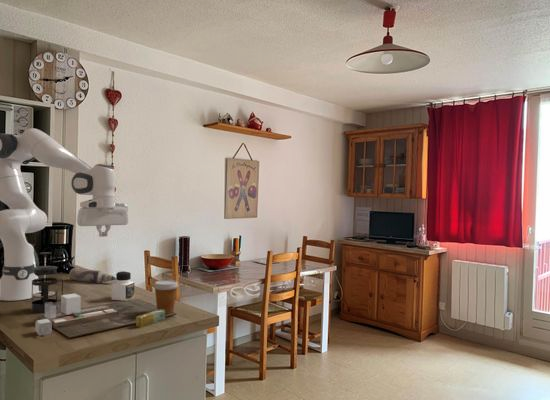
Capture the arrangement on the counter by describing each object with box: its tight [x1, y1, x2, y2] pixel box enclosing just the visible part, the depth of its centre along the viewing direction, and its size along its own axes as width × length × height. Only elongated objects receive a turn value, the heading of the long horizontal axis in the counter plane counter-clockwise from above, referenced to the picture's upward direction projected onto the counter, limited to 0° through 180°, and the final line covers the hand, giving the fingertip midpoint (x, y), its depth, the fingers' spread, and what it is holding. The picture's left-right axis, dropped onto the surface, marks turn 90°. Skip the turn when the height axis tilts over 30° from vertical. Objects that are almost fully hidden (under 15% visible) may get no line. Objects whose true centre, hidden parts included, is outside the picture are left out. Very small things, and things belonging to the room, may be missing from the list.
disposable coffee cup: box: [153, 279, 179, 315], centre depth 167 cm, size 10×10×12 cm
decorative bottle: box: [68, 267, 116, 284], centre depth 216 cm, size 26×8×7 cm, turn 75°
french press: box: [30, 251, 64, 314], centre depth 165 cm, size 12×9×23 cm
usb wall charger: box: [34, 318, 53, 336], centre depth 138 cm, size 4×7×4 cm, turn 41°
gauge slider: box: [60, 293, 82, 317], centre depth 154 cm, size 10×5×6 cm, turn 45°
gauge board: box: [42, 304, 120, 329], centre depth 157 cm, size 13×23×2 cm, turn 135°
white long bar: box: [44, 302, 107, 320], centre depth 157 cm, size 6×21×5 cm, turn 135°
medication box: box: [135, 309, 167, 329], centre depth 152 cm, size 12×3×4 cm, turn 149°
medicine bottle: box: [110, 270, 135, 302], centre depth 185 cm, size 7×7×12 cm
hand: (103, 236), depth 172 cm, fingers closed
